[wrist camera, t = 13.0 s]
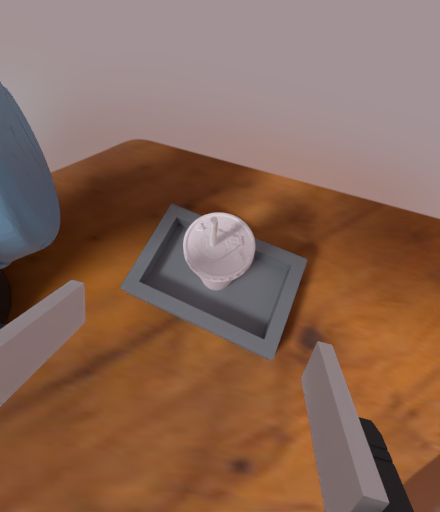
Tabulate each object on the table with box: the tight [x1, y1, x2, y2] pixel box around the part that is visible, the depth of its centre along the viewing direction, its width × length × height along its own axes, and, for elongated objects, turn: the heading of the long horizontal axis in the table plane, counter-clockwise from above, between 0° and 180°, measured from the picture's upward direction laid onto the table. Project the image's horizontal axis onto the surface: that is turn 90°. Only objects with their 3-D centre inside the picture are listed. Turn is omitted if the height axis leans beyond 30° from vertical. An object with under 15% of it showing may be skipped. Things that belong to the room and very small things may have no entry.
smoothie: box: [183, 212, 255, 290], centre depth 25 cm, size 6×6×14 cm
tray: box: [120, 203, 308, 360], centre depth 31 cm, size 18×12×3 cm, turn 66°
